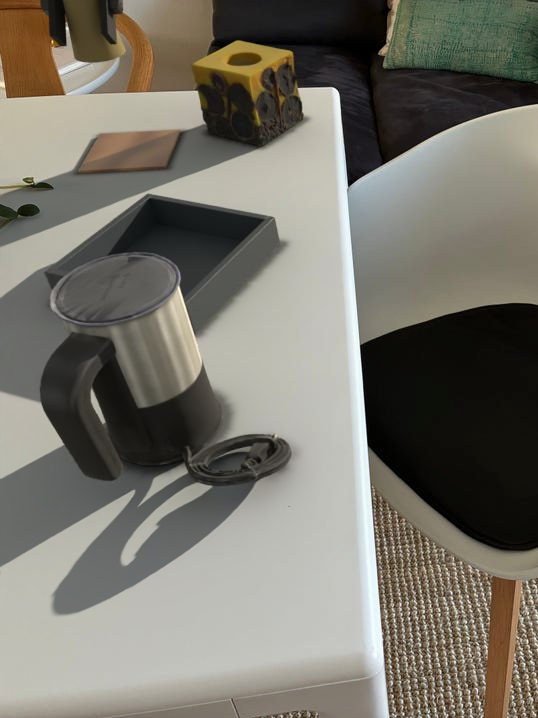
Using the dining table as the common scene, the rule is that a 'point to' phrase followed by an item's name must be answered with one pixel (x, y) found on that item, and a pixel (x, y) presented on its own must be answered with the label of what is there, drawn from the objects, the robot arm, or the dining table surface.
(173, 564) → the dining table surface
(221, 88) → the candle
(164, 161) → the coaster
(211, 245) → the tray
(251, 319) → the dining table surface
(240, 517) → the dining table surface
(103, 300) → the milk frother
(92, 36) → the pepper shaker
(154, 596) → the dining table surface
